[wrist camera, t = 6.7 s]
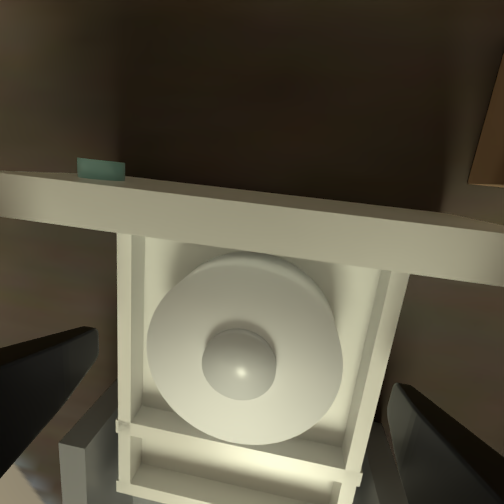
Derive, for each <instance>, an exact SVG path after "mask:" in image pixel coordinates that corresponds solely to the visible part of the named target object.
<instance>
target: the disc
mask: <svg viewBox="0 0 504 504" xmlns="http://www.w3.org/2000/svg"><path fill="white" fill-rule="evenodd" d="M146 347H147V359H148V364H149V368H150V371H151V375H152V377H153V380H154V382H155V384H156V386H157V388H158V390H159V391H160V393H161V395H162V396H163V398H164V399H165V400H166V402H167V403H168V404H169V406H170V407H171V408H172V409H173V410H174V411H175V412H176V413H177V414H178V415H179V416H180V417H182V418H183V419H184V420H185V421H186V422H188V423H189V424H191V425H192V426H194V427H195V428H197V429H198V430H200V431H202V432H204V433H206V434H208V435H210V436H213V437H215V438H218V439H221V440H224V441H228V442H232V443H238V444H246V445H265V444H272V443H278V442H281V441H285V440H288V439H291V438H293V437H295V436H298V435H300V434H302V433H303V432H305V431H306V430H308V429H310V428H311V427H312V426H313V425H315V424H316V423H317V422H318V421H319V420H320V419H321V418H322V417H323V416H324V415H325V414H326V413H327V411H328V410H329V408H330V407H331V405H332V404H333V402H334V400H335V398H336V396H337V394H338V391H339V388H340V384H341V381H342V373H343V355H342V349H341V344H340V340H339V336H338V332H337V328H336V324H335V321H334V317H333V314H332V310H331V307H330V305H329V303H328V301H327V299H326V297H325V295H324V294H323V292H322V291H321V289H320V288H319V286H318V285H317V284H316V283H315V282H314V281H313V280H312V278H311V277H309V276H308V275H307V274H306V273H305V272H304V271H302V270H301V269H299V268H298V267H296V266H295V265H294V264H292V263H290V262H288V261H286V260H284V259H282V258H279V257H276V256H273V255H270V254H265V253H258V252H249V251H246V252H233V253H228V254H224V255H220V256H217V257H215V258H212V259H210V260H208V261H206V262H204V263H203V264H201V265H200V266H198V267H197V268H196V269H195V270H193V271H192V272H191V273H190V274H189V275H187V276H186V277H185V278H184V279H183V280H181V281H180V282H179V283H178V284H177V285H176V286H174V287H173V288H172V289H171V290H170V291H169V292H168V293H167V294H166V295H165V296H164V298H163V299H162V300H161V301H160V303H159V305H158V306H157V308H156V310H155V311H154V314H153V316H152V318H151V321H150V324H149V328H148V332H147V342H146Z"/></svg>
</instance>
